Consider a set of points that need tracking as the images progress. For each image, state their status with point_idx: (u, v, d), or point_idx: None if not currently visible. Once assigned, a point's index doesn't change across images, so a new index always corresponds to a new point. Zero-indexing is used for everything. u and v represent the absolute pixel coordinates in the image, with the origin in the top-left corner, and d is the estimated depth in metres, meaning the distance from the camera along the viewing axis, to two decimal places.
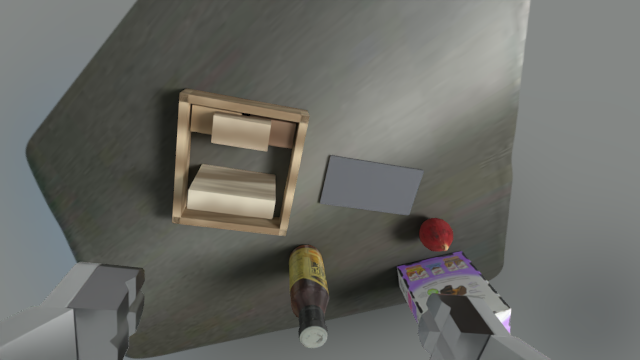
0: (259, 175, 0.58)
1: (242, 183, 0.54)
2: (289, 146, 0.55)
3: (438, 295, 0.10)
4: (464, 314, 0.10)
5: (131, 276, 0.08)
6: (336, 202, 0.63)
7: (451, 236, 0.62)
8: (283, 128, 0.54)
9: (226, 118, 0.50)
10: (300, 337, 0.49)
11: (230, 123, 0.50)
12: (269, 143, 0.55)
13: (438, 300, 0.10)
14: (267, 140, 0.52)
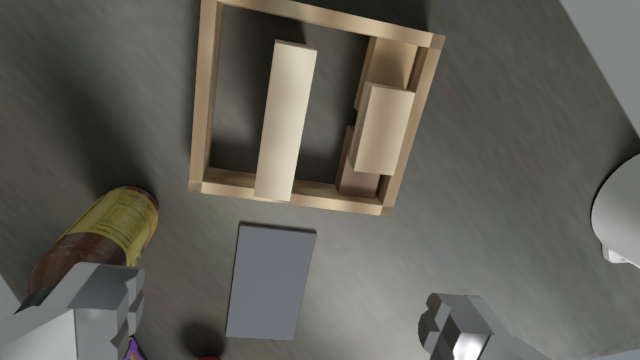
0: None
1: None
2: (341, 191, 0.38)
3: (438, 295, 0.10)
4: (464, 314, 0.10)
5: (131, 277, 0.08)
6: (242, 247, 0.42)
7: None
8: (368, 182, 0.38)
9: (408, 112, 0.32)
10: None
11: (400, 118, 0.32)
12: (347, 163, 0.37)
13: (438, 300, 0.10)
14: (370, 171, 0.34)
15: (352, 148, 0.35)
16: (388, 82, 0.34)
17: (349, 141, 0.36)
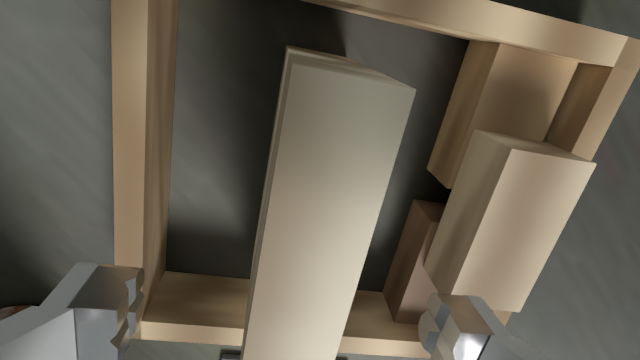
0: None
1: None
2: (400, 317, 0.21)
3: (438, 295, 0.10)
4: (464, 314, 0.10)
5: (131, 276, 0.08)
6: None
7: None
8: None
9: (574, 200, 0.15)
10: None
11: (556, 211, 0.16)
12: (416, 275, 0.20)
13: (438, 300, 0.10)
14: None
15: (437, 251, 0.19)
16: (510, 132, 0.17)
17: (422, 237, 0.19)
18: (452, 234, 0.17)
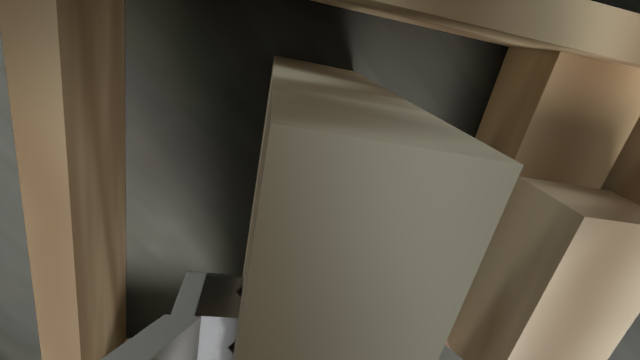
0: None
1: None
2: None
3: None
4: None
5: (239, 285, 0.09)
6: None
7: None
8: None
9: None
10: None
11: (634, 291, 0.12)
12: None
13: None
14: None
15: (466, 327, 0.15)
16: (565, 167, 0.13)
17: None
18: (489, 311, 0.13)
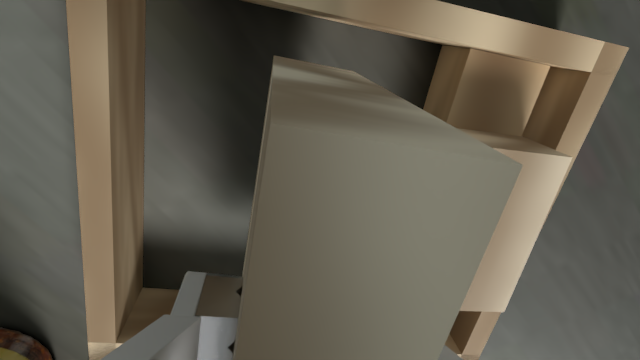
0: None
1: None
2: None
3: None
4: None
5: (239, 285, 0.09)
6: None
7: None
8: None
9: (551, 196, 0.15)
10: None
11: (534, 208, 0.15)
12: None
13: None
14: (461, 308, 0.17)
15: None
16: None
17: None
18: None
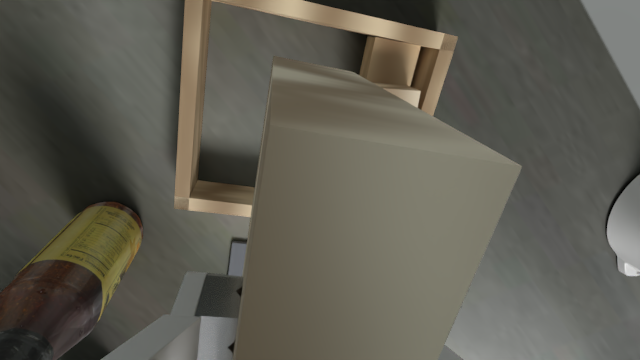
0: None
1: None
2: None
3: None
4: None
5: (239, 285, 0.09)
6: (235, 265, 0.39)
7: None
8: None
9: None
10: None
11: None
12: None
13: None
14: None
15: None
16: None
17: None
18: None
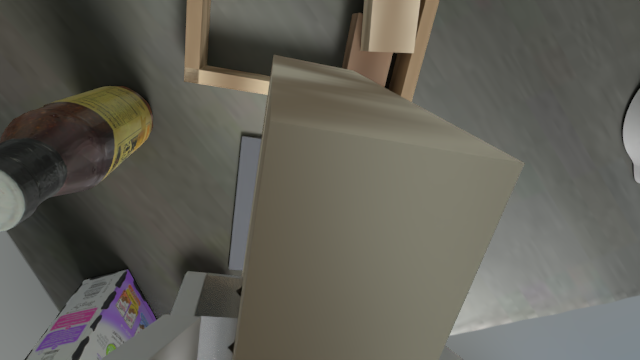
0: None
1: None
2: None
3: None
4: None
5: (239, 285, 0.09)
6: (245, 162, 0.38)
7: None
8: (375, 78, 0.34)
9: None
10: None
11: None
12: (353, 53, 0.33)
13: None
14: (387, 50, 0.30)
15: (363, 32, 0.32)
16: None
17: (355, 26, 0.32)
18: (367, 13, 0.30)
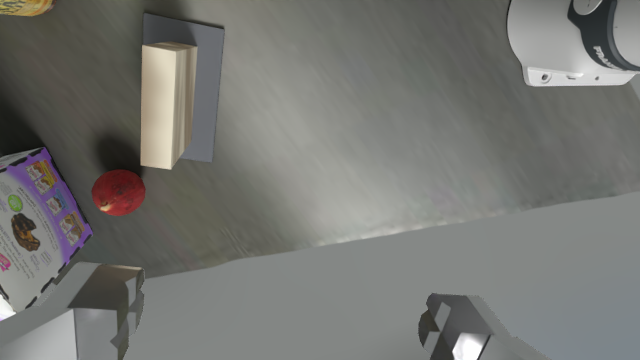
0: (189, 124, 0.44)
1: (183, 113, 0.40)
2: None
3: (438, 295, 0.10)
4: (464, 314, 0.10)
5: (131, 277, 0.08)
6: (148, 40, 0.42)
7: (123, 212, 0.44)
8: None
9: None
10: None
11: None
12: None
13: (438, 300, 0.10)
14: None
15: None
16: None
17: None
18: None
